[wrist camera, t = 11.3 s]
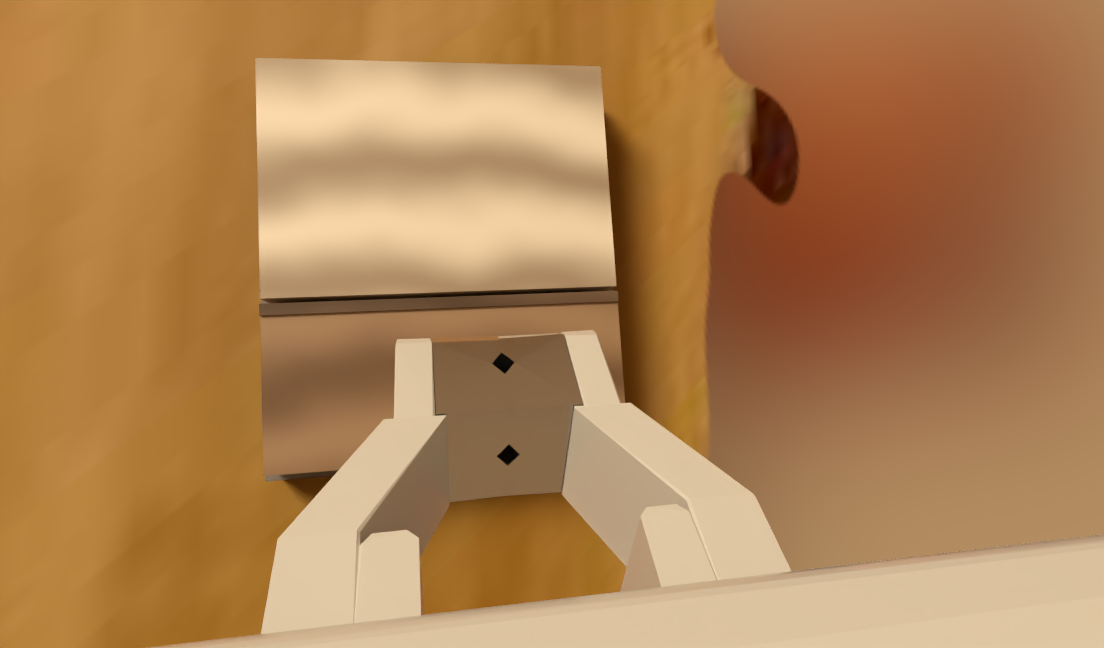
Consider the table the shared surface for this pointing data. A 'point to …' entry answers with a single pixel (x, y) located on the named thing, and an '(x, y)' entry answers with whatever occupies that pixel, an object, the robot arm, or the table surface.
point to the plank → (430, 180)
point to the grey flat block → (385, 362)
